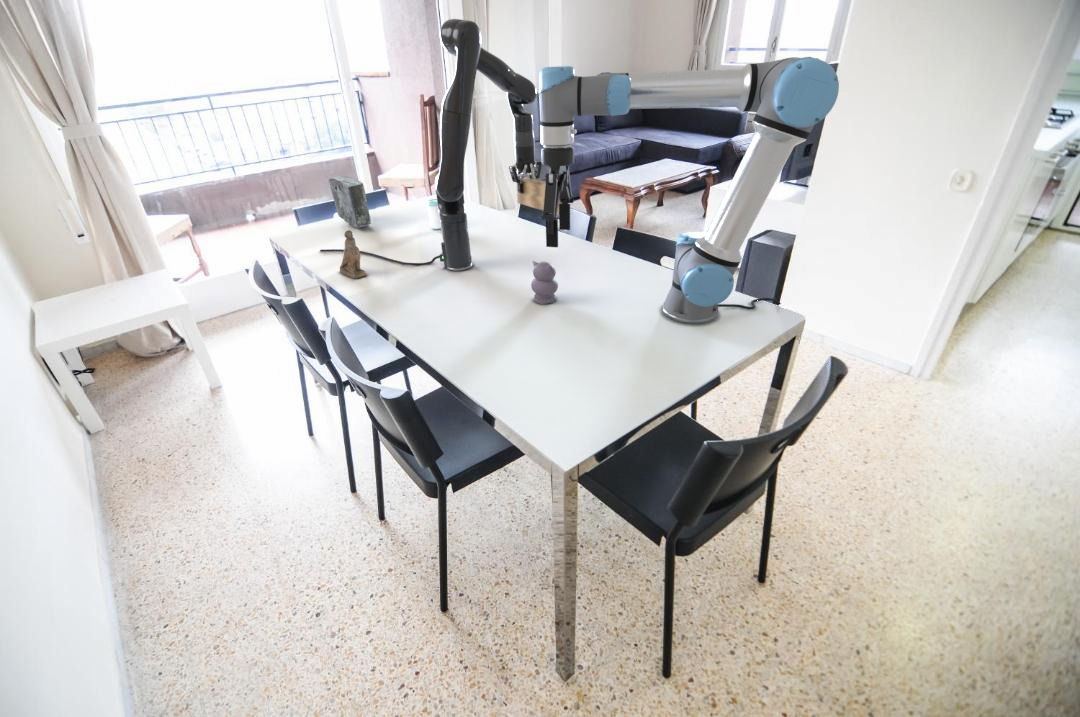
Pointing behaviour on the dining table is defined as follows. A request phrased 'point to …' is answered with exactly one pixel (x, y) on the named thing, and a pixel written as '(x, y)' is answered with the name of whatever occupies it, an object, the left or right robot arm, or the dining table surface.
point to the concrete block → (350, 200)
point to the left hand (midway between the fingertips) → (526, 191)
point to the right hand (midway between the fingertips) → (558, 237)
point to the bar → (533, 194)
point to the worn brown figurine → (351, 258)
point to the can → (434, 214)
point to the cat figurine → (544, 282)
